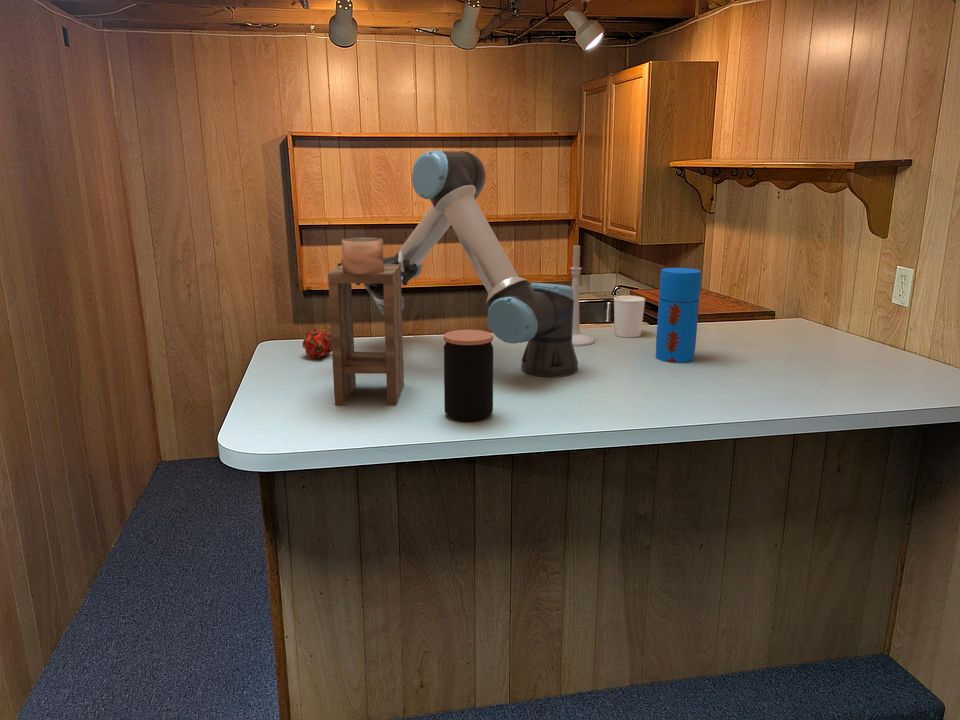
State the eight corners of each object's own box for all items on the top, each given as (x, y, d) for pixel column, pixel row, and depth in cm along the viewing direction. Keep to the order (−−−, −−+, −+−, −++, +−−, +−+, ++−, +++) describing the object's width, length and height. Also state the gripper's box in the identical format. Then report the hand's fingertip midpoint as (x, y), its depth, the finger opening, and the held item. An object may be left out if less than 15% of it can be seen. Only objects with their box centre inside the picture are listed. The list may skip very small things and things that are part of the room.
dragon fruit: (321, 355, 213) (322, 372, 203) (296, 341, 210) (296, 357, 199) (337, 333, 212) (339, 348, 201) (312, 318, 208) (313, 333, 198)
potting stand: (347, 384, 180) (342, 264, 173) (403, 384, 180) (400, 264, 172) (334, 405, 165) (327, 274, 157) (396, 405, 165) (392, 274, 157)
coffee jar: (494, 407, 163) (495, 330, 159) (490, 424, 153) (491, 341, 148) (448, 406, 164) (447, 328, 160) (440, 422, 154) (439, 340, 150)
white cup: (624, 339, 227) (627, 302, 224) (605, 333, 235) (607, 297, 232) (649, 336, 231) (651, 299, 228) (629, 330, 240) (631, 294, 237)
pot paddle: (359, 259, 182) (358, 230, 180) (395, 259, 182) (394, 230, 180) (339, 274, 157) (337, 241, 155) (380, 274, 157) (379, 241, 155)
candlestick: (545, 342, 223) (547, 244, 215) (564, 334, 233) (568, 241, 226) (582, 348, 216) (586, 247, 208) (601, 340, 226) (605, 243, 219)
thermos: (652, 360, 203) (658, 271, 196) (658, 351, 212) (663, 266, 206) (692, 364, 199) (699, 274, 192) (696, 355, 208) (703, 269, 202)
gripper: (429, 300, 196) (422, 270, 176) (338, 300, 197) (320, 270, 176) (430, 274, 198) (423, 242, 178) (339, 274, 199) (322, 242, 178)
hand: (372, 256), depth 177 cm, fingers open, 13 cm apart
